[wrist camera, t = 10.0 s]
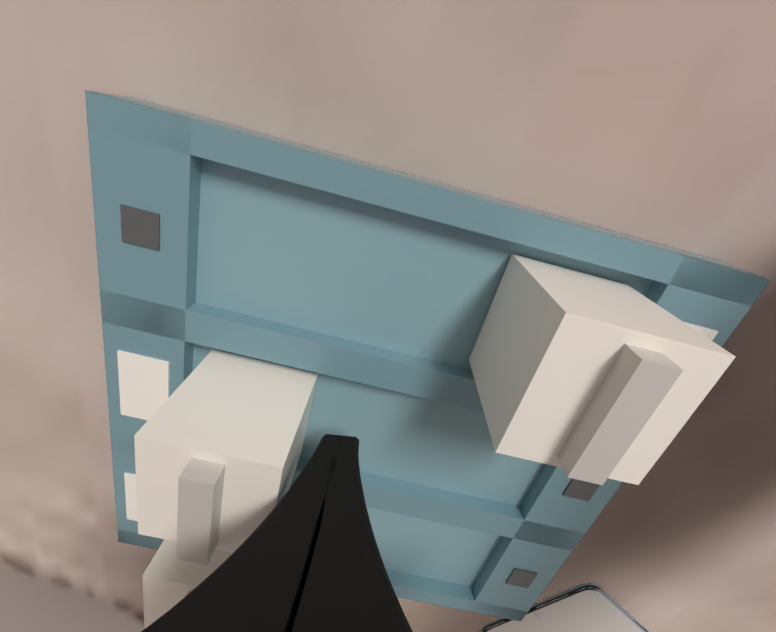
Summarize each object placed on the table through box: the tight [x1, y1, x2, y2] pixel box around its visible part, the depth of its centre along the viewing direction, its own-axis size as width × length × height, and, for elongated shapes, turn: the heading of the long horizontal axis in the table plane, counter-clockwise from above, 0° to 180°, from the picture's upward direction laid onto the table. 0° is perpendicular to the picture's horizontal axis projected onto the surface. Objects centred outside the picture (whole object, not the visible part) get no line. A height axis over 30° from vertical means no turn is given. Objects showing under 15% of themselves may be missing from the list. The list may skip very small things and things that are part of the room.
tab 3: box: [469, 254, 736, 485], centre depth 10 cm, size 4×4×5 cm
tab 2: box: [142, 539, 232, 629], centre depth 14 cm, size 4×4×5 cm
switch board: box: [85, 90, 771, 621], centre depth 14 cm, size 18×17×2 cm
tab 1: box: [134, 349, 318, 565], centre depth 11 cm, size 4×4×5 cm
